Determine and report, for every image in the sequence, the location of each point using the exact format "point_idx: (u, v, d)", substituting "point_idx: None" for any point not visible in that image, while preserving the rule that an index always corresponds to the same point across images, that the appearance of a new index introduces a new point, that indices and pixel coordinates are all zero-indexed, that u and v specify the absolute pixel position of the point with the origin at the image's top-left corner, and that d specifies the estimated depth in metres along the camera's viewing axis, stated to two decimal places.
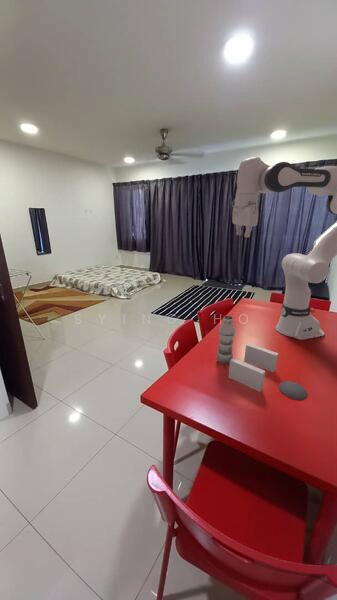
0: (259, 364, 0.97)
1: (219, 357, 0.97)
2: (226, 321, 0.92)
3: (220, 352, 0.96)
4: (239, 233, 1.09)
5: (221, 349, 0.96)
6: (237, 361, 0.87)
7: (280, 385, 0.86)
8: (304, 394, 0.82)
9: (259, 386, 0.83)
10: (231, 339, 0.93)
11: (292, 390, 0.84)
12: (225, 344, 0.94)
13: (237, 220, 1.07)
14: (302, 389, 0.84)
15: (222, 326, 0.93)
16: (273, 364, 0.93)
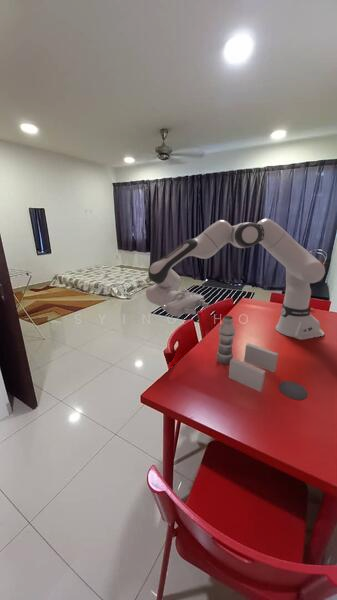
0: (259, 364, 0.97)
1: (219, 357, 0.97)
2: (226, 321, 0.92)
3: (220, 352, 0.96)
4: (205, 305, 1.04)
5: (221, 349, 0.96)
6: (237, 361, 0.87)
7: (280, 385, 0.86)
8: (304, 394, 0.82)
9: (259, 386, 0.83)
10: (231, 339, 0.93)
11: (292, 390, 0.84)
12: (225, 344, 0.94)
13: None
14: (302, 389, 0.84)
15: (222, 326, 0.93)
16: (273, 364, 0.93)
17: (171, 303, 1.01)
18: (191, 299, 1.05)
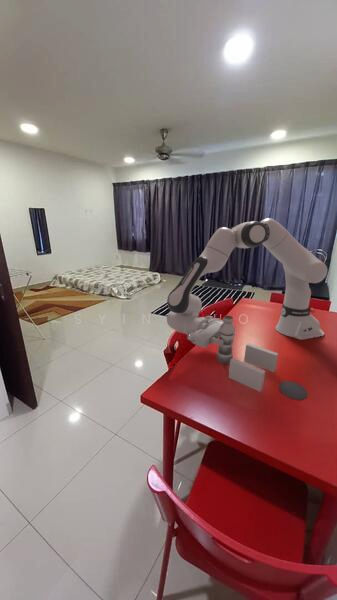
0: (259, 364, 0.97)
1: (219, 357, 0.97)
2: (226, 321, 0.92)
3: (220, 352, 0.96)
4: None
5: (221, 349, 0.96)
6: (237, 361, 0.87)
7: (280, 385, 0.86)
8: (304, 394, 0.82)
9: (259, 386, 0.83)
10: (231, 339, 0.94)
11: (292, 390, 0.84)
12: (225, 344, 0.94)
13: None
14: (302, 389, 0.84)
15: (222, 326, 0.93)
16: (273, 364, 0.93)
17: (196, 333, 0.96)
18: (216, 327, 1.01)
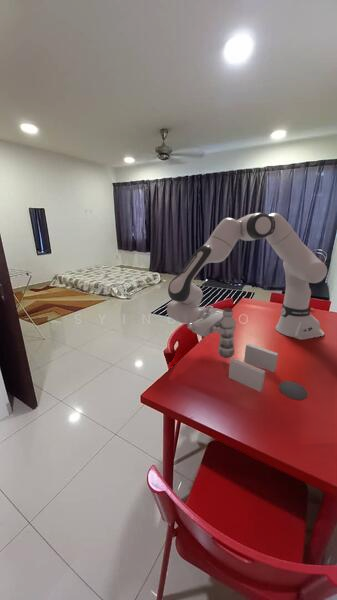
0: (259, 364, 0.97)
1: (221, 351, 0.96)
2: (226, 314, 0.91)
3: (222, 346, 0.95)
4: None
5: (223, 343, 0.95)
6: (237, 361, 0.87)
7: (280, 385, 0.86)
8: (304, 394, 0.82)
9: (259, 386, 0.83)
10: (232, 332, 0.93)
11: (292, 390, 0.84)
12: (226, 338, 0.93)
13: None
14: (302, 389, 0.84)
15: (222, 319, 0.92)
16: (273, 364, 0.93)
17: (197, 322, 0.95)
18: (217, 316, 0.99)
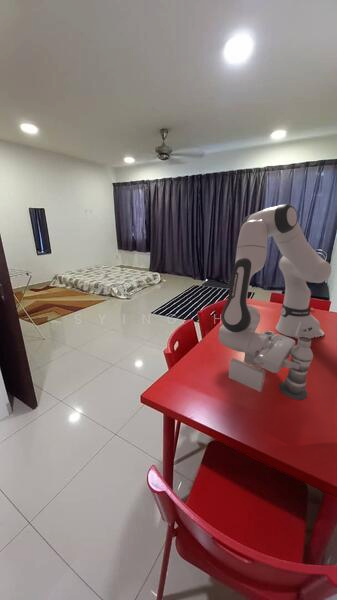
0: None
1: (291, 386, 0.81)
2: (304, 344, 0.76)
3: (293, 380, 0.80)
4: None
5: (294, 377, 0.80)
6: (237, 361, 0.87)
7: (280, 385, 0.86)
8: (304, 394, 0.82)
9: (259, 386, 0.83)
10: (309, 364, 0.77)
11: None
12: (300, 371, 0.78)
13: None
14: None
15: (298, 350, 0.77)
16: None
17: (264, 354, 0.80)
18: (283, 346, 0.84)
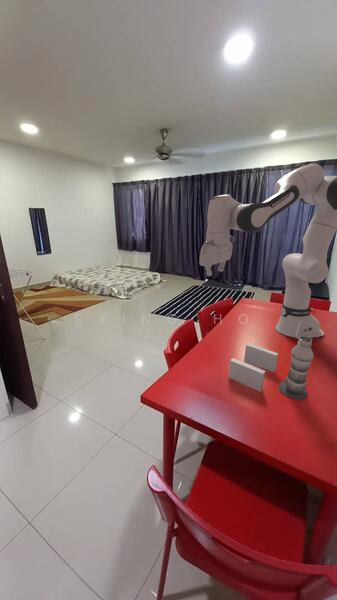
0: (259, 364, 0.97)
1: (292, 386, 0.81)
2: (305, 344, 0.76)
3: (293, 380, 0.80)
4: (219, 269, 1.03)
5: (295, 377, 0.80)
6: (237, 361, 0.87)
7: (280, 385, 0.86)
8: (304, 394, 0.82)
9: (259, 386, 0.83)
10: (309, 365, 0.78)
11: None
12: (301, 371, 0.78)
13: None
14: None
15: (298, 350, 0.77)
16: (273, 364, 0.93)
17: (211, 250, 0.91)
18: (223, 256, 0.99)
